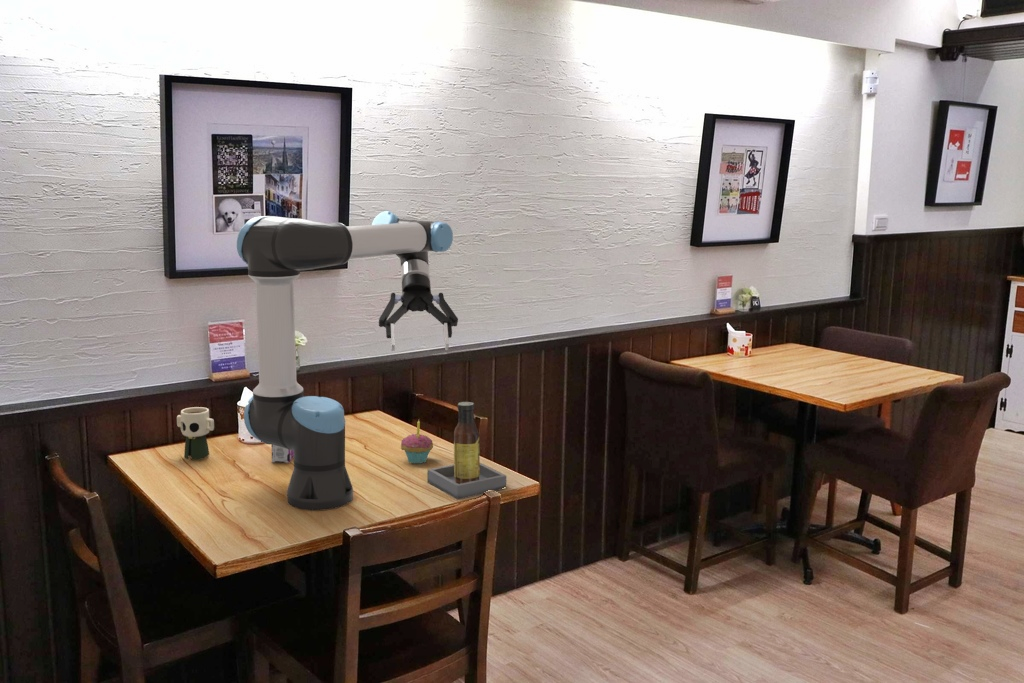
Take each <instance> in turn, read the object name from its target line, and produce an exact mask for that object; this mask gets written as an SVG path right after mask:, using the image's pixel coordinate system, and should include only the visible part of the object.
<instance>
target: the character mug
mask: <svg viewBox="0 0 1024 683" xmlns="http://www.w3.org/2000/svg"><path fill="white" fill-rule="evenodd" d="M176 425H177V427H178V428H180V431H181V434H182V435H183V436H184V437H186V438H185V442H184V443H185V444H184V454H183V455H184V459H187V460H189V457H190V459H191V460H193V461H194V460H203V459H205V458H207V457H208V456H210V451H209V450H210V449H209V445H208V440H207V439H208V438H207V436H206V435H208V434H209V433H210V432H212V431H214V430H215V420H214V418H210V409H209V408H207V407H202V406H200V407H199V406H194V407H193V406H192V407H186V408H183V409H181V410H180V414H178V415H177V416H176Z"/></svg>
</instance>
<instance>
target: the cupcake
mask: <svg viewBox="0 0 1024 683" xmlns="http://www.w3.org/2000/svg"><path fill="white" fill-rule="evenodd" d="M420 426H421V422H420V419H418V421H417V427H416V433H413V434H409V435H407V436H406V437H404V438H403V439H402V440H401V441H400V443H401V444H400V449H401V450H402V451H404V453H405V454H406V457H407V461H408V462H409V463H410V462H411V464H415V463H420V464H424V463H426V462H427V460H428V456H429V454H430V451H432V449H434V443H433V440H432V439H431V438H430V437H429V436H427V435H423V434H421V433H420V430H421V429H420ZM423 462H424V463H423Z"/></svg>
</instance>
